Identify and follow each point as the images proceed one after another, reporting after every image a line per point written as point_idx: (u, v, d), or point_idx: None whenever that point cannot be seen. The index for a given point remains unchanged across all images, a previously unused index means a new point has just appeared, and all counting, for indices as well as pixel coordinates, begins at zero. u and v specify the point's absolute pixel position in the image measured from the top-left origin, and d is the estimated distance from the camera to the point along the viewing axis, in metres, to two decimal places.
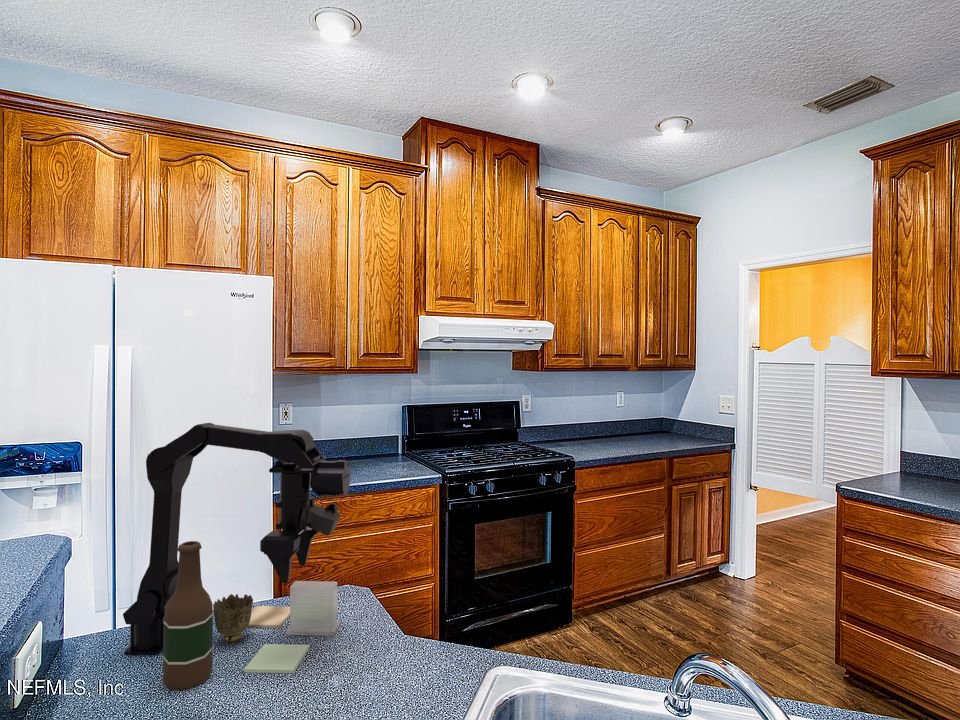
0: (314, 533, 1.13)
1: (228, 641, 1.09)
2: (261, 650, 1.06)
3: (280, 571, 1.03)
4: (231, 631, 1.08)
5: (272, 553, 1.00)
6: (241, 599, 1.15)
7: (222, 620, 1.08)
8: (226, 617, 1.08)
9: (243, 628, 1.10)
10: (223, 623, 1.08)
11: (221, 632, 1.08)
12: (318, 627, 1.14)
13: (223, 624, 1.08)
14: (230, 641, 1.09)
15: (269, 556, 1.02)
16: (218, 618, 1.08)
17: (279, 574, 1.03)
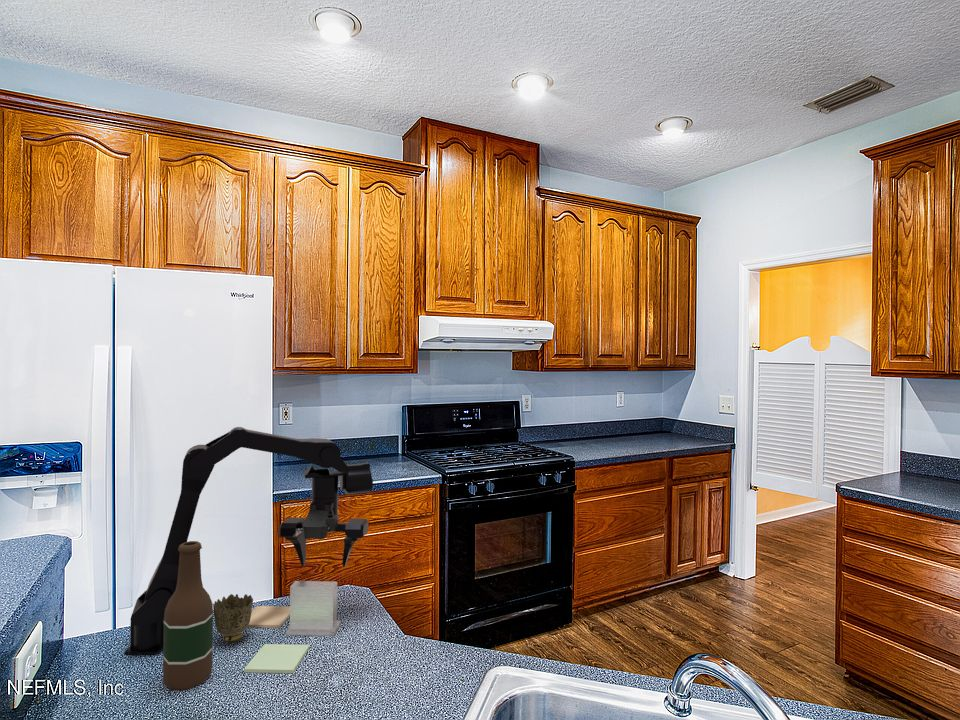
0: (344, 540, 1.21)
1: (228, 641, 1.09)
2: (261, 650, 1.06)
3: None
4: (231, 631, 1.08)
5: None
6: (241, 599, 1.15)
7: (222, 620, 1.08)
8: (226, 617, 1.08)
9: (243, 628, 1.10)
10: (223, 623, 1.08)
11: (221, 632, 1.08)
12: (318, 627, 1.14)
13: (223, 624, 1.08)
14: (230, 641, 1.09)
15: None
16: (218, 618, 1.08)
17: None
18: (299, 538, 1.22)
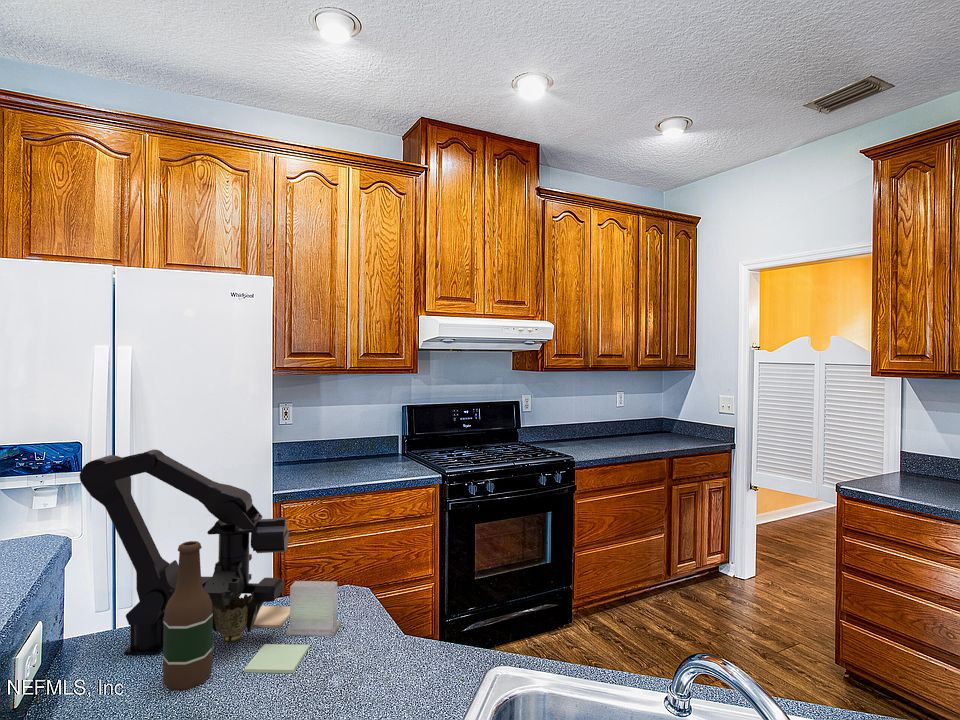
0: None
1: (228, 641, 1.09)
2: (261, 650, 1.06)
3: None
4: (231, 631, 1.08)
5: None
6: (241, 599, 1.15)
7: (222, 620, 1.08)
8: (226, 616, 1.08)
9: (243, 628, 1.10)
10: (223, 623, 1.08)
11: (221, 632, 1.08)
12: (318, 627, 1.14)
13: (223, 624, 1.08)
14: (230, 641, 1.09)
15: None
16: (218, 618, 1.08)
17: None
18: None
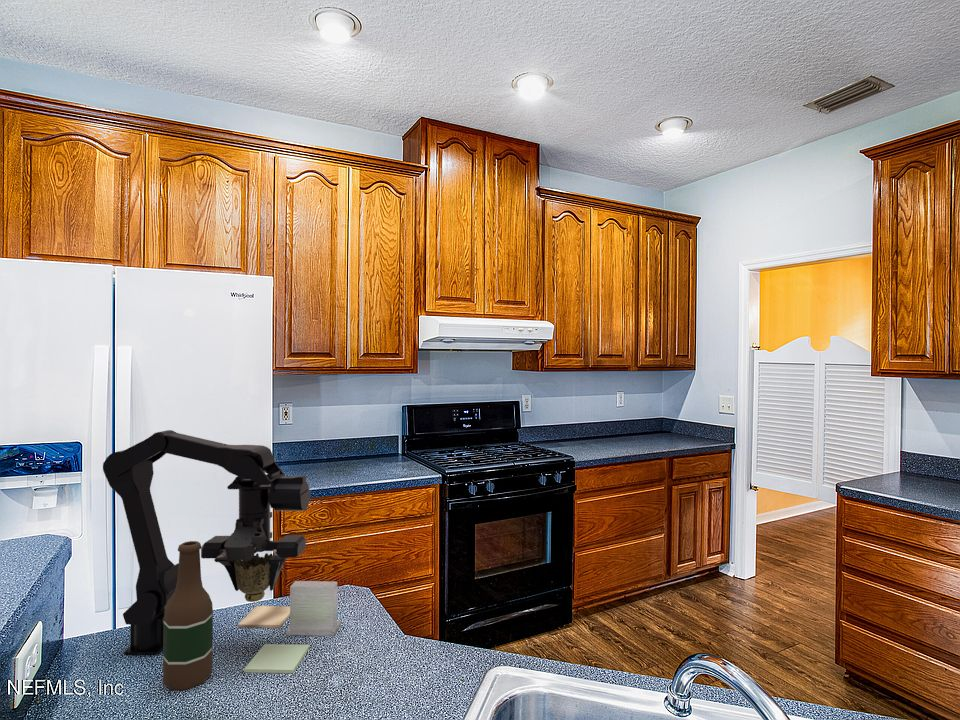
0: None
1: (250, 599, 1.07)
2: (261, 650, 1.06)
3: None
4: (254, 588, 1.06)
5: None
6: (262, 558, 1.12)
7: (245, 577, 1.05)
8: (248, 573, 1.05)
9: (266, 586, 1.07)
10: (245, 580, 1.05)
11: (243, 590, 1.06)
12: (318, 627, 1.14)
13: (245, 581, 1.05)
14: (252, 599, 1.07)
15: None
16: (240, 575, 1.05)
17: None
18: None
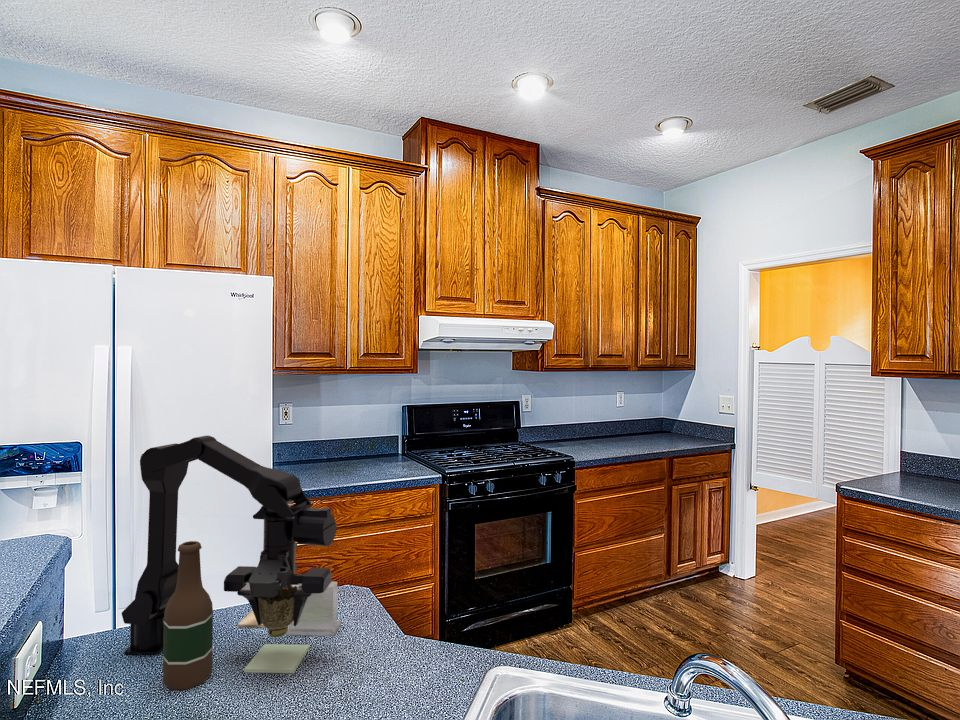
0: None
1: (274, 635, 1.02)
2: (261, 650, 1.06)
3: None
4: (278, 624, 1.01)
5: None
6: (286, 590, 1.08)
7: (268, 612, 1.01)
8: (272, 609, 1.01)
9: (290, 621, 1.03)
10: (269, 615, 1.01)
11: (267, 625, 1.01)
12: (318, 627, 1.14)
13: (269, 617, 1.01)
14: (276, 635, 1.02)
15: None
16: (264, 610, 1.01)
17: None
18: None
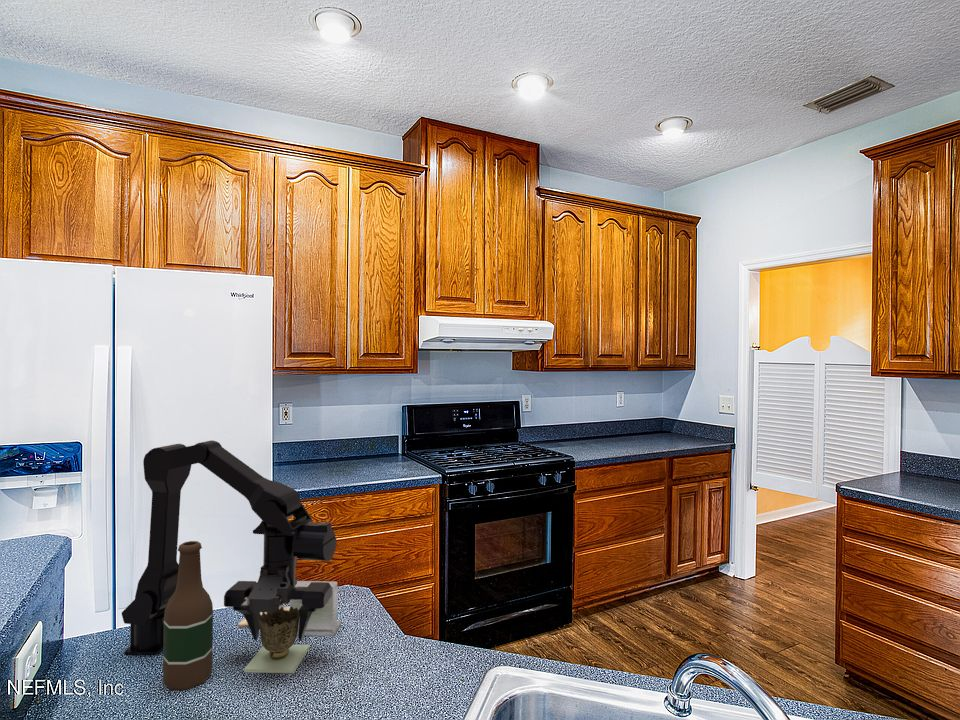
0: None
1: (275, 657, 1.02)
2: (261, 650, 1.06)
3: None
4: (278, 647, 1.01)
5: None
6: (287, 612, 1.08)
7: (269, 635, 1.01)
8: (273, 631, 1.01)
9: (291, 643, 1.03)
10: (270, 638, 1.01)
11: (268, 648, 1.01)
12: (318, 627, 1.14)
13: (270, 640, 1.01)
14: (277, 657, 1.02)
15: None
16: (265, 633, 1.01)
17: None
18: (250, 608, 1.03)
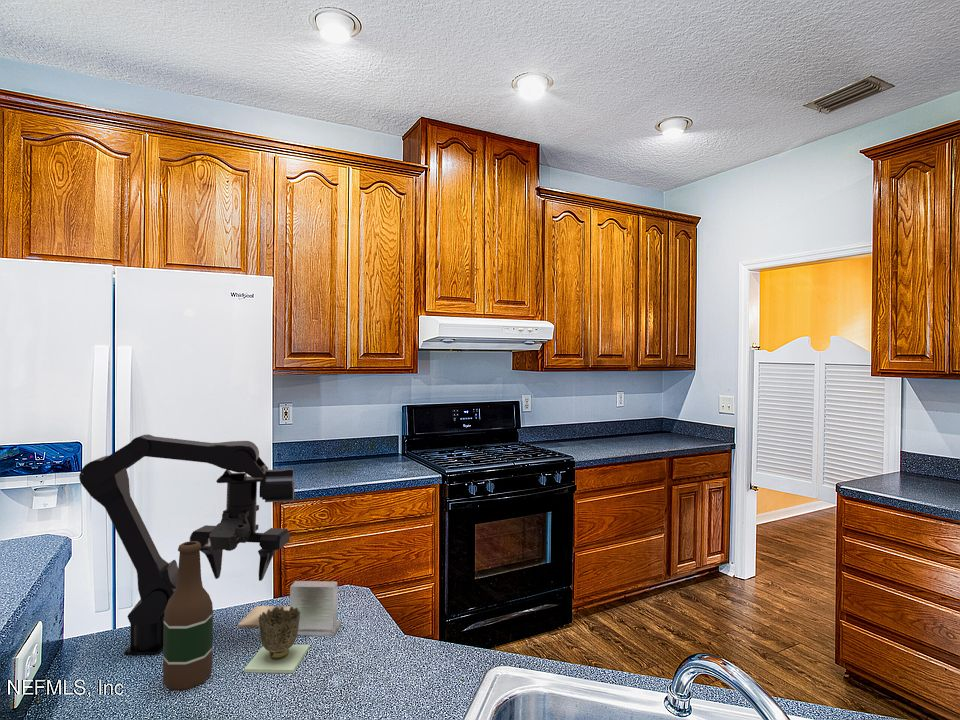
0: None
1: (275, 657, 1.02)
2: (261, 650, 1.06)
3: None
4: (278, 647, 1.01)
5: None
6: (287, 612, 1.08)
7: (269, 635, 1.01)
8: (273, 631, 1.01)
9: (291, 643, 1.03)
10: (270, 638, 1.01)
11: (268, 648, 1.01)
12: (318, 627, 1.14)
13: (270, 640, 1.01)
14: (277, 657, 1.02)
15: None
16: (265, 633, 1.01)
17: None
18: (212, 548, 1.12)
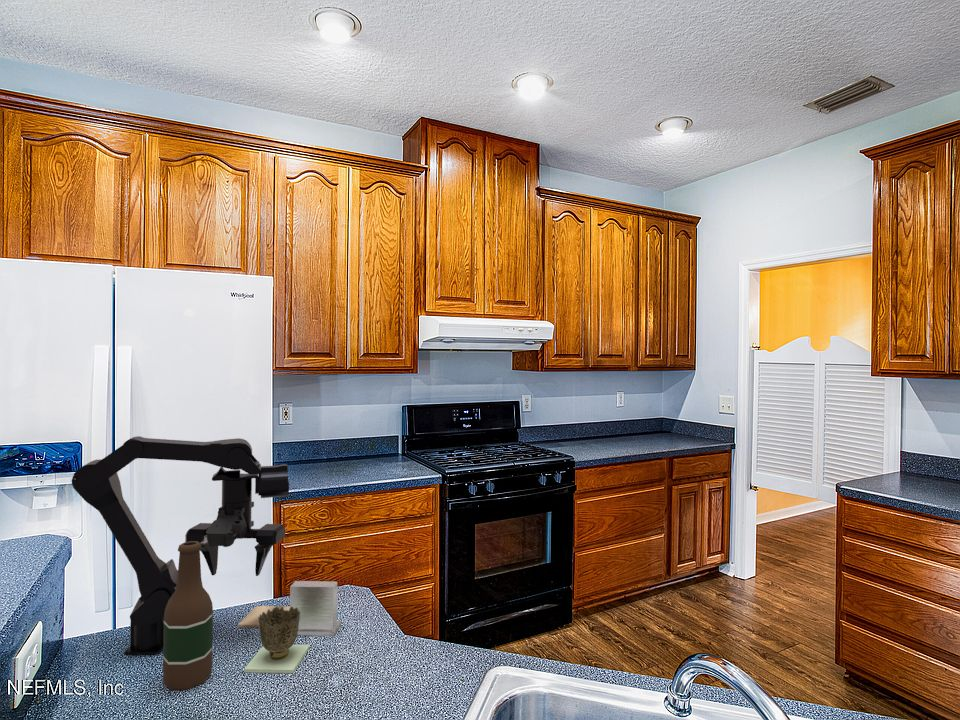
0: None
1: (275, 657, 1.02)
2: (261, 650, 1.06)
3: None
4: (278, 647, 1.01)
5: None
6: (287, 612, 1.08)
7: (269, 635, 1.01)
8: (273, 631, 1.01)
9: (291, 643, 1.03)
10: (270, 638, 1.01)
11: (268, 648, 1.01)
12: (318, 627, 1.14)
13: (270, 640, 1.01)
14: (277, 657, 1.02)
15: None
16: (265, 633, 1.01)
17: None
18: (208, 545, 1.13)
